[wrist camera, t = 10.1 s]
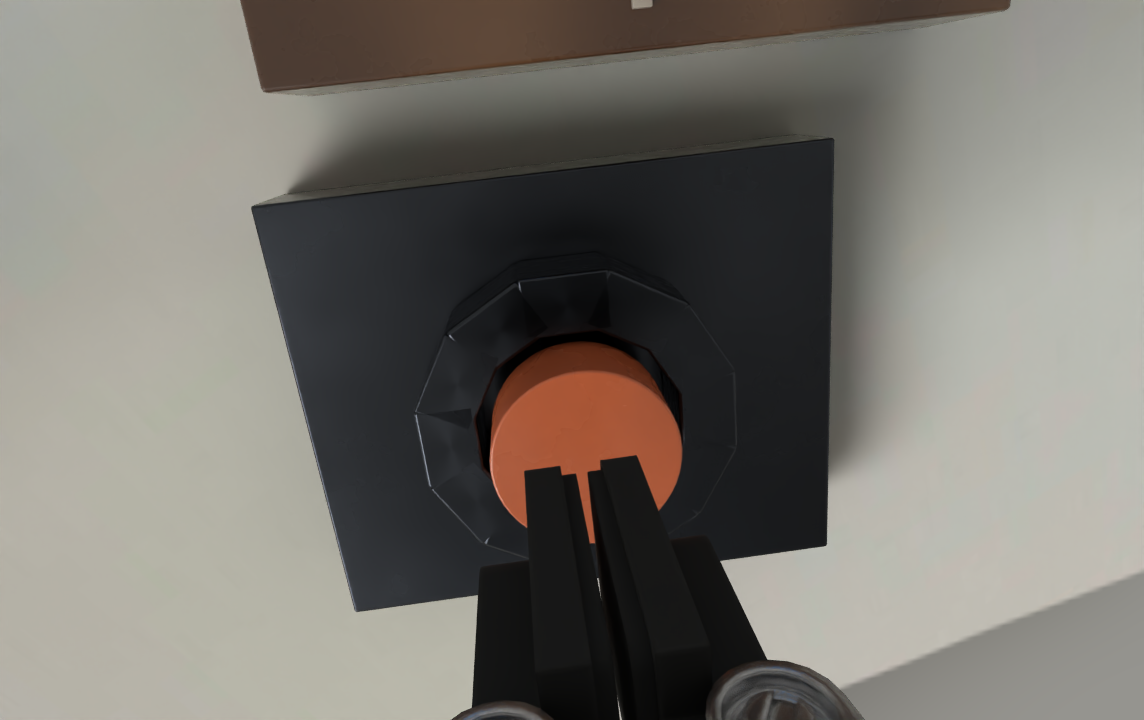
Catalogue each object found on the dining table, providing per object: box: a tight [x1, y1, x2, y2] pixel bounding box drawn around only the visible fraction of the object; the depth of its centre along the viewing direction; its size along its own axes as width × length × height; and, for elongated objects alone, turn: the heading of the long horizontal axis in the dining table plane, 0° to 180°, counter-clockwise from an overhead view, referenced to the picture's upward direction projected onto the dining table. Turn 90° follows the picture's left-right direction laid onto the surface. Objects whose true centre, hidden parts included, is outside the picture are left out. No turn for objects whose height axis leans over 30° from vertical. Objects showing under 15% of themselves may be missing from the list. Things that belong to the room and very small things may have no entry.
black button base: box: [251, 135, 834, 612], centre depth 16 cm, size 12×10×4 cm
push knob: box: [490, 341, 682, 543], centre depth 14 cm, size 4×4×2 cm
